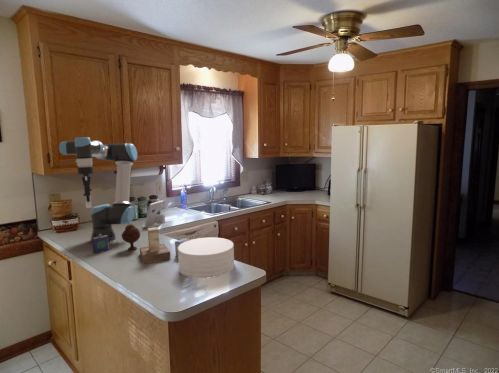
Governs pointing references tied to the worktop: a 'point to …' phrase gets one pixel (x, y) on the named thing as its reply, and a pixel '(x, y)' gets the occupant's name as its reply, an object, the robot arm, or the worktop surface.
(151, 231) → the maple block
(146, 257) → the board
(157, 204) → the phone holder
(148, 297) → the worktop surface
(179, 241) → the medicine box
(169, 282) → the worktop surface
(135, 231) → the ice cream bowl
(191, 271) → the plate stack
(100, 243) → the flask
